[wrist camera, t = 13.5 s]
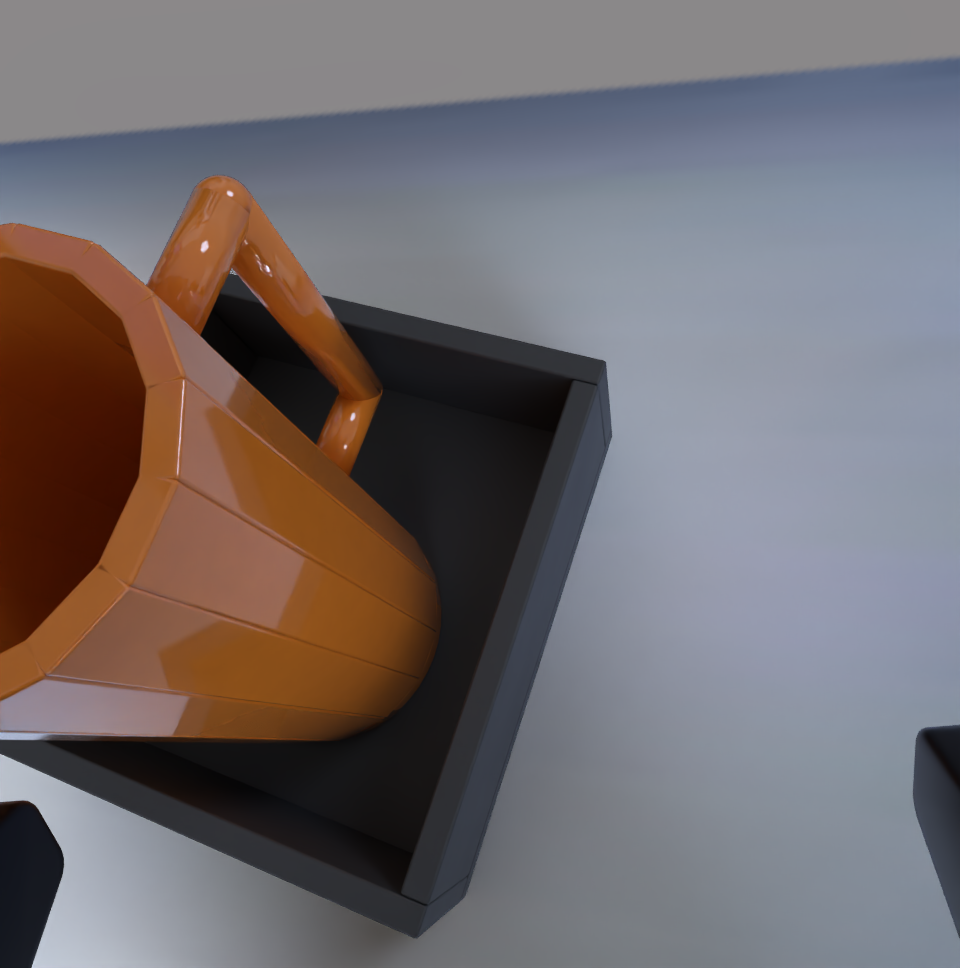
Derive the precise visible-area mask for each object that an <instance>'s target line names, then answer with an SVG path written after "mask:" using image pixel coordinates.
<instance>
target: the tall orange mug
mask: <svg viewBox="0 0 960 968" xmlns="http://www.w3.org/2000/svg"><path fill="white" fill-rule="evenodd" d="M231 268H232V269H233V270H234V271H235V272H236V273H237V275H238V276H239V277H240V278H241V279H242V281H243V282H244V283H245V284H246V285H247V286H248V288H249V289H250V290H251V291H252V292H253V294H254V295H255V296H256V297H257V298H258V299H259V301H260V302H261V303H262V304H263V305H264V307H265V308H266V309H267V310H268V311H269V312H270V314H271V315H272V316H273V317H274V318H275V320H276V321H277V322H278V323H279V324H280V325H281V327H282V328H283V329H284V330H285V331H286V333H287V334H288V335H289V336H290V337H291V338H292V340H293V341H294V342H295V343H296V344H297V346H298V347H299V348H300V349H301V350H302V351H303V353H304V354H305V355H306V356H307V357H308V359H309V360H310V361H311V362H312V363H313V364H314V366H315V367H316V368H317V369H318V370H319V372H320V373H321V374H322V375H323V376H324V377H325V379H326V380H327V381H328V382H329V383H330V385H331V386H332V387H333V388H334V389H335V390H336V392H337V395H336V397H335V400H334V402H333V404H332V407H331V409H330V412H329V414H328V416H327V419H326V421H325V424H324V426H323V428H322V431H321V433H320V436H319V438H318V440H317V443H316V445H315V444H314V443H313V442H312V441H311V440H310V439H309V438H308V437H307V436H306V435H305V434H304V433H303V432H302V431H300V430H299V429H298V428H297V427H296V426H295V425H294V424H293V423H292V422H291V421H290V420H289V419H288V418H287V417H286V416H285V415H283V414H282V413H281V412H280V411H279V410H278V409H277V408H276V407H275V406H274V405H273V404H272V403H271V402H270V401H269V400H268V399H266V398H265V397H264V396H263V395H262V394H261V393H260V392H259V391H258V390H257V389H256V388H255V387H254V386H253V385H252V384H251V383H249V382H248V381H247V380H246V379H245V378H244V377H243V376H242V375H241V374H240V373H239V372H238V371H237V370H236V369H235V368H234V367H233V366H231V365H230V364H229V363H228V362H227V361H226V360H225V359H224V358H223V357H222V356H221V355H220V354H219V353H218V352H217V351H216V350H214V349H213V348H212V347H211V346H210V345H209V344H208V343H207V342H206V341H205V340H204V339H203V338H202V337H201V336H200V335H201V333H202V330H203V328H204V326H205V324H206V322H207V320H208V318H209V315H210V313H211V311H212V309H213V307H214V305H215V303H216V300H217V298H218V296H219V294H220V292H221V290H222V288H223V285H224V283H225V281H226V279H227V277H228V275H229V273H230V270H231ZM382 392H383V387H382V383H381V380H380V378H379V377H378V375H377V374H376V372H375V371H374V370H373V368H372V367H371V365H370V364H369V362H368V361H367V360H366V358H365V357H364V355H363V354H362V352H361V351H360V350H359V348H358V347H357V345H356V344H355V342H354V341H353V340H352V338H351V337H350V335H349V334H348V332H347V331H346V330H345V328H344V327H343V325H342V324H341V322H340V321H339V320H338V318H337V317H336V315H335V314H334V312H333V311H332V310H331V308H330V307H329V305H328V304H327V302H326V301H325V300H324V298H323V297H322V295H321V294H320V292H319V291H318V290H317V288H316V287H315V285H314V284H313V282H312V281H311V280H310V278H309V277H308V275H307V274H306V272H305V271H304V270H303V268H302V267H301V265H300V264H299V262H298V261H297V260H296V258H295V257H294V255H293V254H292V252H291V251H290V249H289V248H288V247H287V245H286V244H285V242H284V241H283V239H282V238H281V237H280V235H279V234H278V232H277V231H276V229H275V228H274V227H273V225H272V224H271V222H270V221H269V219H268V218H267V217H266V215H265V214H264V212H263V211H262V209H261V208H260V207H259V205H258V204H257V202H256V201H255V199H254V198H253V197H252V195H251V194H250V192H249V191H248V190H247V188H246V187H245V186H244V185H243V184H242V183H240V182H239V181H238V180H236V179H234V178H232V177H229V176H225V175H214V176H210V177H207V178H205V179H203V180H202V181H200V182H199V183H198V184H197V185H196V186H195V188H194V190H193V191H192V193H191V195H190V197H189V200H188V202H187V204H186V206H185V208H184V210H183V212H182V214H181V216H180V218H179V220H178V222H177V224H176V226H175V228H174V230H173V232H172V234H171V236H170V238H169V240H168V242H167V244H166V246H165V248H164V250H163V252H162V254H161V257H160V259H159V261H158V263H157V265H156V267H155V269H154V271H153V273H152V275H151V277H150V279H149V281H148V283H147V285H145V284H144V283H142V282H141V281H140V280H139V279H138V278H137V277H136V276H134V275H133V274H132V273H131V272H130V271H129V270H128V269H126V268H125V267H124V266H123V265H122V264H121V263H120V262H118V261H117V260H116V259H115V258H114V257H113V256H112V255H110V254H109V253H108V252H107V251H106V250H105V249H104V248H102V247H101V246H100V245H98V244H95V243H94V242H93V241H89V240H85V239H81V238H76V237H72V236H68V235H64V234H60V233H56V232H52V231H48V230H43V229H39V228H35V227H31V226H27V225H23V224H15V223H9V224H3V225H0V739H2V740H69V741H136V742H203V743H270V744H301V743H327V742H338V741H341V740H345V739H349V738H352V737H356V736H358V735H361V734H363V733H365V732H368V731H370V730H372V729H373V728H375V727H377V726H378V725H380V724H382V723H384V722H385V721H386V720H388V719H389V718H390V717H391V716H393V715H394V714H395V713H396V712H398V711H399V710H400V709H401V708H402V707H403V706H404V705H405V704H406V702H407V701H408V700H409V699H410V698H411V697H412V695H413V694H414V693H415V691H416V690H417V689H418V688H419V686H420V684H421V683H422V681H423V679H424V677H425V676H426V674H427V672H428V670H429V668H430V665H431V663H432V661H433V658H434V655H435V652H436V648H437V645H438V641H439V635H440V629H441V600H440V592H439V588H438V584H437V579H436V577H435V574H434V571H433V569H432V566H431V564H430V562H429V560H428V558H427V557H426V555H425V553H424V551H423V550H422V549H421V547H420V546H419V544H418V542H417V541H416V540H415V538H414V537H413V536H412V535H411V534H410V533H409V532H408V531H407V530H406V529H405V528H404V527H402V526H401V525H400V524H399V523H398V522H397V521H396V520H395V519H394V518H393V517H392V516H391V515H390V514H389V513H388V512H387V511H385V510H384V509H383V508H382V507H381V506H380V505H379V504H378V503H377V502H376V501H375V500H374V499H373V498H372V497H371V496H370V495H368V494H367V493H366V492H365V491H364V490H363V489H362V488H361V487H360V486H359V485H358V484H357V483H356V482H355V481H354V480H353V479H351V478H350V477H349V476H350V474H351V471H352V469H353V466H354V464H355V461H356V459H357V456H358V454H359V451H360V449H361V446H362V444H363V441H364V439H365V436H366V434H367V431H368V429H369V426H370V424H371V421H372V419H373V417H374V414H375V412H376V409H377V407H378V404H379V402H380V399H381V396H382Z"/></svg>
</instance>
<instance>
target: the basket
mask: <svg viewBox="0 0 960 968" xmlns="http://www.w3.org/2000/svg"><path fill="white" fill-rule="evenodd" d="M322 297H323V298H324V300H325V301H326V302H327V304H328V305H329V307H330V308H331V310H332V311H333V312H334V314H335V315H336V317H337V318H338V320H339V321H340V322H341V324H342V325H343V327H344V328H345V330H346V331H347V332H348V334H349V335H350V337H351V338H352V340H353V341H354V342H355V344H356V345H357V347H358V348H359V350H360V351H361V352H362V354H363V355H364V357H365V358H366V360H367V361H368V362H369V364H370V365H371V367H372V368H373V370H374V371H375V372H376V374H377V375H378V377H379V378H380V380H381V383H382V387H383V392H382V396H381V399H380V402H379V404H378V407H377V409H376V412H375V414H374V417H373V419H372V421H371V424H370V426H369V429H368V431H367V434H366V436H365V439H364V441H363V444H362V446H361V449H360V451H359V454H358V456H357V459H356V461H355V464H354V466H353V469H352V471H351V474H350V476H349V477H350V478H351V479H353V480H354V481H355V482H356V483H357V484H358V485H359V486H360V487H361V488H362V489H363V490H364V491H365V492H366V493H367V494H368V495H370V496H371V497H372V498H373V499H374V500H375V501H376V502H377V503H378V504H379V505H380V506H381V507H382V508H383V509H384V510H385V511H387V512H388V513H389V514H390V515H391V516H392V517H393V518H394V519H395V520H396V521H397V522H398V523H399V524H400V525H401V526H402V527H404V528H405V529H406V530H407V531H408V532H409V533H410V534H411V535H412V536H413V537H414V538H415V540H416V541H417V542H418V544H419V546H420V547H421V549H422V550H423V551H424V553H425V555H426V557H427V558H428V560H429V562H430V564H431V566H432V569H433V571H434V574H435V577H436V579H437V584H438V588H439V592H440V600H441V629H440V635H439V641H438V645H437V648H436V652H435V655H434V658H433V661H432V663H431V665H430V668H429V670H428V672H427V674H426V676H425V677H424V679H423V681H422V683H421V684H420V686H419V688H418V689H417V690H416V691H415V693H414V694H413V695H412V697H411V698H410V699H409V700H408V701H407V702H406V704H405V705H404V706H403V707H402V708H401V709H400V710H399V711H398V712H396V713H395V714H394V715H393V716H391V717H390V718H389V719H388V720H386V721H385V722H384V723H382V724H380V725H378V726H377V727H375V728H373V729H372V730H370V731H368V732H365V733H363V734H361V735H358V736H356V737H352V738H349V739H345V740H341V741H338V742H327V743H301V744H270V743H203V742H136V741H69V740H2V739H0V754H2V755H5V756H7V757H9V758H11V759H14V760H16V761H18V762H20V763H22V764H25V765H27V766H29V767H31V768H34V769H36V770H38V771H40V772H43V773H45V774H47V775H49V776H52V777H54V778H56V779H58V780H61V781H63V782H65V783H67V784H70V785H72V786H74V787H76V788H79V789H81V790H83V791H85V792H87V793H90V794H92V795H94V796H96V797H99V798H101V799H103V800H105V801H108V802H110V803H112V804H114V805H117V806H119V807H121V808H123V809H126V810H128V811H130V812H132V813H135V814H137V815H139V816H141V817H144V818H146V819H148V820H150V821H152V822H155V823H157V824H159V825H161V826H164V827H166V828H168V829H170V830H173V831H175V832H177V833H179V834H182V835H184V836H186V837H188V838H191V839H193V840H195V841H197V842H200V843H202V844H204V845H206V846H209V847H211V848H213V849H215V850H217V851H220V852H222V853H224V854H226V855H229V856H231V857H233V858H235V859H238V860H240V861H242V862H244V863H247V864H249V865H251V866H253V867H256V868H258V869H260V870H262V871H265V872H267V873H269V874H271V875H274V876H276V877H278V878H280V879H282V880H285V881H287V882H289V883H291V884H294V885H296V886H298V887H300V888H303V889H305V890H307V891H309V892H312V893H314V894H316V895H318V896H321V897H323V898H325V899H327V900H330V901H332V902H334V903H336V904H339V905H341V906H343V907H345V908H348V909H350V910H352V911H354V912H356V913H359V914H361V915H363V916H365V917H368V918H370V919H372V920H374V921H377V922H379V923H381V924H383V925H386V926H388V927H390V928H392V929H395V930H397V931H399V932H401V933H404V934H406V935H408V936H410V937H413V938H418V937H419V936H420V935H421V934H423V933H424V932H425V931H426V930H427V929H428V928H430V927H431V926H432V925H433V924H434V923H435V922H437V921H438V920H439V919H440V918H441V917H442V916H444V915H445V914H446V913H447V912H448V911H449V910H451V909H452V908H453V907H454V906H455V905H457V904H458V903H459V902H460V901H461V900H462V899H463V898H464V897H465V896H466V892H467V889H468V886H469V883H470V880H471V877H472V874H473V870H474V867H475V864H476V861H477V858H478V855H479V852H480V848H481V845H482V842H483V839H484V836H485V833H486V830H487V827H488V823H489V820H490V817H491V814H492V811H493V808H494V805H495V801H496V798H497V795H498V792H499V789H500V786H501V783H502V780H503V776H504V773H505V770H506V767H507V764H508V761H509V758H510V754H511V751H512V748H513V745H514V742H515V739H516V736H517V732H518V729H519V726H520V723H521V720H522V717H523V714H524V711H525V707H526V704H527V701H528V698H529V695H530V692H531V689H532V685H533V682H534V679H535V676H536V673H537V670H538V667H539V663H540V660H541V657H542V654H543V651H544V648H545V645H546V642H547V638H548V635H549V632H550V629H551V626H552V623H553V620H554V616H555V613H556V610H557V607H558V604H559V601H560V598H561V595H562V591H563V588H564V585H565V582H566V579H567V576H568V573H569V569H570V566H571V563H572V560H573V557H574V554H575V551H576V547H577V544H578V541H579V538H580V535H581V532H582V529H583V526H584V522H585V519H586V516H587V513H588V510H589V507H590V504H591V500H592V497H593V494H594V491H595V488H596V485H597V482H598V478H599V475H600V472H601V469H602V466H603V463H604V460H605V457H606V453H607V450H608V447H609V444H610V441H611V438H612V429H611V416H610V404H609V392H608V381H607V369H606V362H605V361H603V360H598V359H594V358H590V357H585V356H581V355H577V354H573V353H568V352H564V351H560V350H555V349H551V348H547V347H543V346H538V345H534V344H530V343H525V342H521V341H517V340H512V339H508V338H504V337H500V336H495V335H491V334H487V333H482V332H478V331H474V330H469V329H465V328H461V327H457V326H452V325H448V324H444V323H439V322H435V321H431V320H427V319H422V318H418V317H414V316H409V315H405V314H401V313H396V312H392V311H388V310H384V309H379V308H375V307H371V306H366V305H362V304H358V303H354V302H349V301H345V300H341V299H336V298H332V297H328V296H323V295H322ZM200 336H201V337H202V338H203V339H204V340H205V341H206V342H207V343H208V344H209V345H210V346H211V347H212V348H213V349H214V350H216V351H217V352H218V353H219V354H220V355H221V356H222V357H223V358H224V359H225V360H226V361H227V362H228V363H229V364H230V365H231V366H233V367H234V368H235V369H236V370H237V371H238V372H239V373H240V374H241V375H242V376H243V377H244V378H245V379H246V380H247V381H248V382H249V383H251V384H252V385H253V386H254V387H255V388H256V389H257V390H258V391H259V392H260V393H261V394H262V395H263V396H264V397H265V398H266V399H268V400H269V401H270V402H271V403H272V404H273V405H274V406H275V407H276V408H277V409H278V410H279V411H280V412H281V413H282V414H283V415H285V416H286V417H287V418H288V419H289V420H290V421H291V422H292V423H293V424H294V425H295V426H296V427H297V428H298V429H299V430H300V431H302V432H303V433H304V434H305V435H306V436H307V437H308V438H309V439H310V440H311V441H312V442H313V443H314V444H315V445H316V443H317V440H318V438H319V436H320V433H321V431H322V428H323V426H324V424H325V421H326V419H327V416H328V414H329V412H330V409H331V407H332V404H333V402H334V400H335V397H336V395H337V392H336V390H335V389H334V388H333V387H332V386H331V385H330V383H329V382H328V381H327V380H326V379H325V377H324V376H323V375H322V374H321V373H320V372H319V370H318V369H317V368H316V367H315V366H314V364H313V363H312V362H311V361H310V360H309V359H308V357H307V356H306V355H305V354H304V353H303V351H302V350H301V349H300V348H299V347H298V346H297V344H296V343H295V342H294V341H293V340H292V338H291V337H290V336H289V335H288V334H287V333H286V331H285V330H284V329H283V328H282V327H281V325H280V324H279V323H278V322H277V321H276V320H275V318H274V317H273V316H272V315H271V314H270V312H269V311H268V310H267V309H266V308H265V307H264V305H263V304H262V303H261V302H260V301H259V299H258V298H257V297H256V296H255V295H254V294H253V292H252V291H251V290H250V289H249V288H248V286H247V285H246V284H245V283H244V282H243V281H242V279H241V278H240V277H239V276H238V275H233V274H229V275H228V277H227V279H226V281H225V283H224V285H223V288H222V290H221V292H220V294H219V296H218V298H217V300H216V303H215V305H214V307H213V309H212V311H211V313H210V315H209V318H208V320H207V322H206V324H205V326H204V328H203V330H202V333H201V335H200Z"/></svg>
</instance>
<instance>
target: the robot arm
mask: <svg viewBox="0 0 960 968" xmlns="http://www.w3.org/2000/svg"><path fill="white" fill-rule="evenodd" d="M913 800H914V806H915V811H916V815H917V818H918V821H919V824H920V827H921V830H922V833H923V836H924V839H925V841H926V844H927V847H928V850H929V853H930V856H931V859H932V861H933V864H934V867H935V870H936V873H937V876H938V878H939V881H940V884H941V887H942V890H943V893H944V896H945V898H946V901H947V904H948V907H949V910H950V913H951V915H952V918H953V921H954V924H955V927H956V930H957V933H958V935H959V938H960V725H952V726H939V727H927V728H924V729H921V730H920V731H919V733H918V735H917V738H916V745H915V763H914V780H913ZM63 868H64V857H63V853H62V850H61V848H60V846H59V844H58V843H57V841H56V839H55V837H54V836H53V834H52V832H51V831H50V829H49V827H48V825H47V824H46V822H45V820H44V819H43V817H42V815H41V813H40V812H39V810H38V809H37V807H36V806H35V805H34V804H32V803H31V802H29V801H10V802H0V968H31V967H32V964H33V961H34V958H35V955H36V952H37V949H38V946H39V943H40V940H41V937H42V934H43V931H44V928H45V926H46V923H47V920H48V917H49V914H50V911H51V908H52V905H53V902H54V899H55V896H56V893H57V890H58V887H59V884H60V881H61V878H62V874H63Z"/></svg>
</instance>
